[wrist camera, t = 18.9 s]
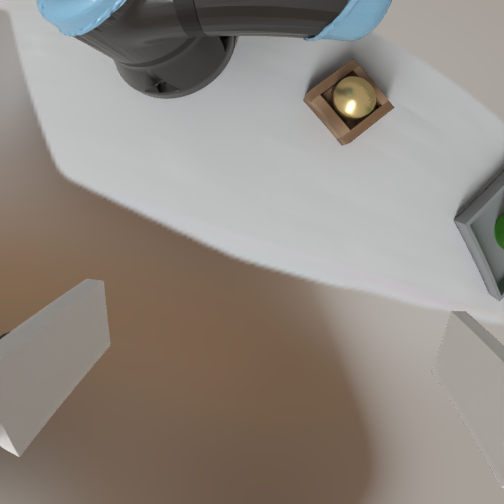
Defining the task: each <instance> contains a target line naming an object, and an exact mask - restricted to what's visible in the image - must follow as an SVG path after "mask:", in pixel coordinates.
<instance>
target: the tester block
mask: <svg viewBox="0 0 504 504" xmlns="http://www.w3.org/2000/svg"><path fill="white" fill-rule="evenodd" d="M350 76H356V77H360V78H363V79H365V80H366V81H367V82H369V83H370V84H371V86H372V87H373V89H374V91H375V93H376V104H375V107H374V109H373V110H372V111H371V112H370V113H369V114H367V115H365V116H363V117H361V118H359V119H357V120H346V119H344V118H341V117H340V116H339V115H337V114H336V113H335V111H334V110H333V108H332V106H331V101H330V98H331V94H332V91H333V90H334V88H335V87H336V86H337V85H338V83H339V82H340V81H341V80H342V79H344V78H346V77H350ZM303 101H304V102H305V103H306V104H307V105H308V106H309V107H310V108H311V110H312V111H313V112H314V113H315V114H316V115H317V116H318V118H319V119H320V120H321V121H322V122H323V123H324V125H325V126H326V127H327V128H328V129H329V131H330V132H331V133H332V134H333V135H334V137H335V138H336V139H337V140H338V141H339V143H340V144H341V145H345V144H348V143H350V142H351V141H353V140H354V139H355V138H356V137H358V136H359V135H360V134H362V133H363V132H364V131H365V130H367V129H368V128H369V127H370V126H372V125H373V124H374V123H375V122H377V121H378V120H379V119H380V118H382V117H383V116H384V115H385V114H387V113H388V112H389V111H391V110H392V109H393V108H394V106H393V105H392V104H391V103H390V101H389V100H388V99H387V98H386V96H385V95H384V94H383V93H382V91H381V90H380V89H379V88H378V87H377V85H376V84H375V83H374V82H373V81H372V79H371V78H370V77H369V76H368V75H367V74H366V72H365V71H364V70H363V69H362V68H361V67H360V66H359V65H358V63H357V62H356V61H355V60H354V59H353V60H351V61H350V62H348V63H347V64H345V65H344V66H343V67H341V68H340V69H339V70H337V71H336V72H334V73H333V74H332V75H330V76H329V77H328V78H326V79H325V80H323V81H322V82H321V83H319V84H318V85H317V86H315V87H314V88H313V89H311V90H310V91H309V92H308V93H307V94H306V96H305V98H304V100H303Z"/></svg>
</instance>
